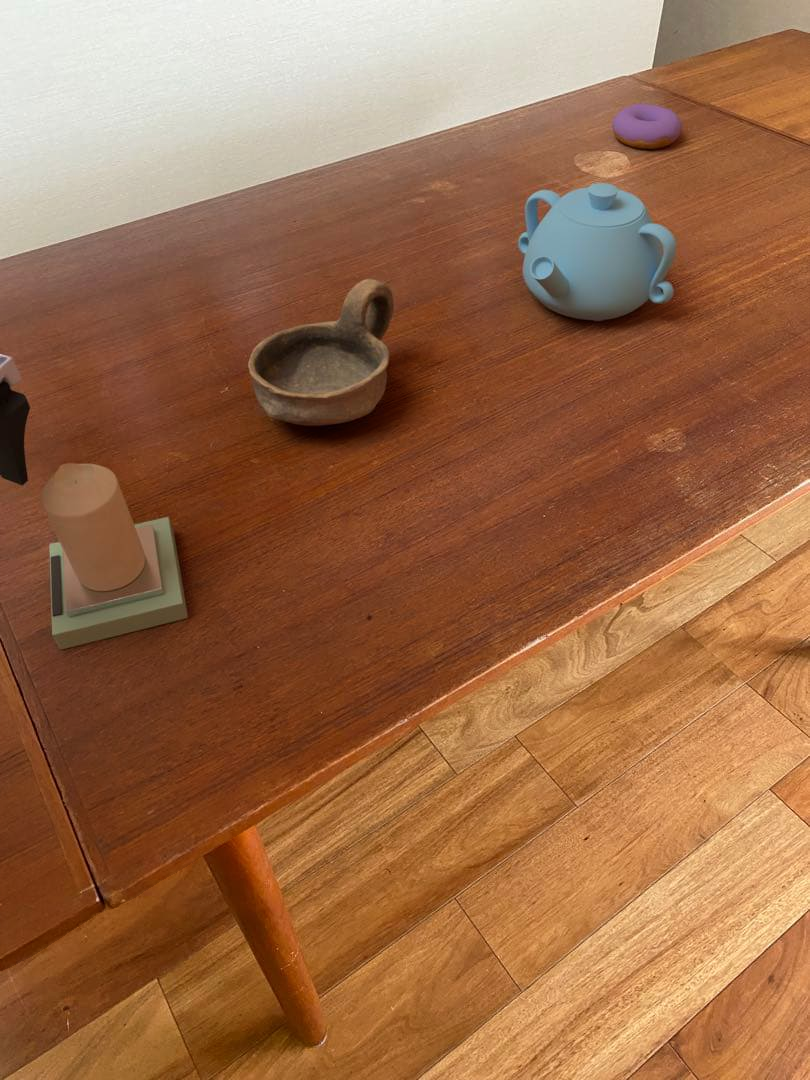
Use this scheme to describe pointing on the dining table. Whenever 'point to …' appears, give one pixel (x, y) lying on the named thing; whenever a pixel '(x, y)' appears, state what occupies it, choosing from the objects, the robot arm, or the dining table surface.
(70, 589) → the thin square metal plate
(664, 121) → the donut
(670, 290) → the teapot
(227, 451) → the dining table surface
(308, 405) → the bowl
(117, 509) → the candle
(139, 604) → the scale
